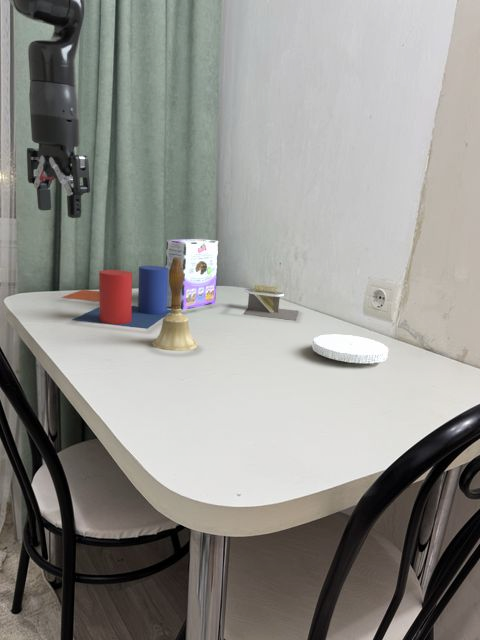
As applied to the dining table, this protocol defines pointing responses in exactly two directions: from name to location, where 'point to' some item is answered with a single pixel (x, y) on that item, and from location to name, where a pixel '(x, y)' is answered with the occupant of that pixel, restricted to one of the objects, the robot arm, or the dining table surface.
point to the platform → (267, 304)
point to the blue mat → (136, 321)
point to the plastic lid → (350, 348)
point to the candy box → (194, 271)
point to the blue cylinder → (152, 289)
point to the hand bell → (175, 317)
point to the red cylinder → (115, 296)
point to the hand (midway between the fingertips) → (59, 213)
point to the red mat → (84, 295)
